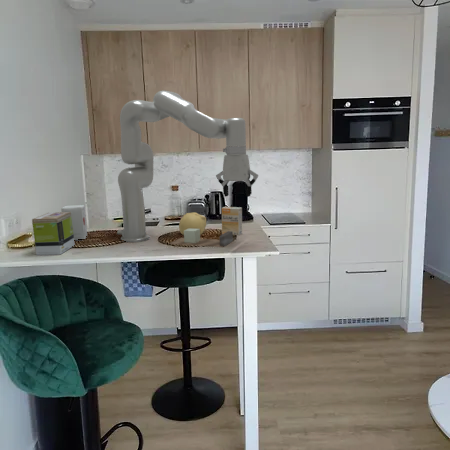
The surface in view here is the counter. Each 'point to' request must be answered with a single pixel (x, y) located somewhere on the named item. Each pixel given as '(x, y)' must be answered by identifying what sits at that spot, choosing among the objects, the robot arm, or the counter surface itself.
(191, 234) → the sage block
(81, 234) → the supplement box
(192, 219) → the sculpture
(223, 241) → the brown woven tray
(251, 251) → the counter surface
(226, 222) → the supplement box
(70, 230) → the tea box
